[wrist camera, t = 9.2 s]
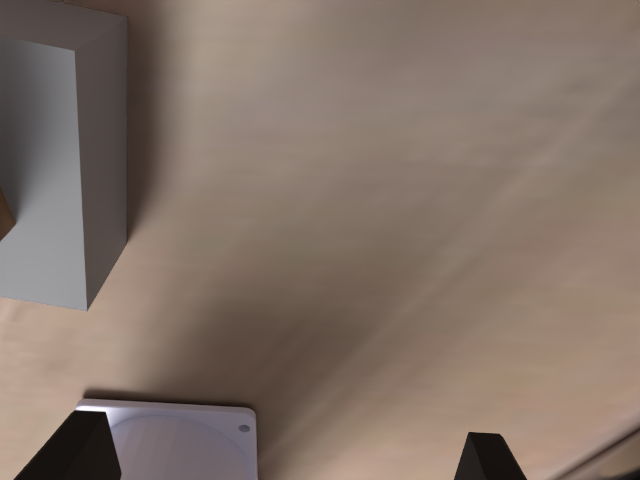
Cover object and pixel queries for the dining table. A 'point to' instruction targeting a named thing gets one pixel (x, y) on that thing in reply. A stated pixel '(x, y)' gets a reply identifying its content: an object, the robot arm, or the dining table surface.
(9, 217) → the walnut block
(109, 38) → the slate base block
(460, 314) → the dining table surface
